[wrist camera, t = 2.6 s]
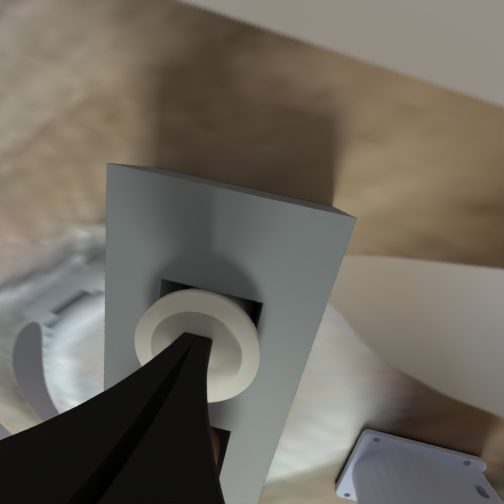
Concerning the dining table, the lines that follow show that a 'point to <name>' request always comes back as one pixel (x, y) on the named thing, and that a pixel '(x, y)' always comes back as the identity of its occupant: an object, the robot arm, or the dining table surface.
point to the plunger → (205, 335)
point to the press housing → (223, 290)
